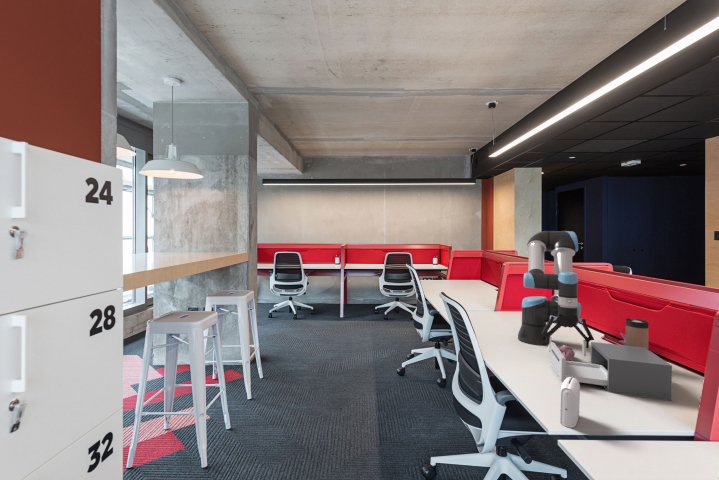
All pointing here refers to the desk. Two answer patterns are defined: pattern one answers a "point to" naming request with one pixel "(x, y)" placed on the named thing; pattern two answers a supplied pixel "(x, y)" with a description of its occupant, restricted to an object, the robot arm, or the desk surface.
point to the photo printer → (569, 402)
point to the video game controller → (567, 352)
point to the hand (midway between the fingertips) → (566, 353)
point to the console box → (633, 370)
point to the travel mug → (636, 333)
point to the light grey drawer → (577, 369)
